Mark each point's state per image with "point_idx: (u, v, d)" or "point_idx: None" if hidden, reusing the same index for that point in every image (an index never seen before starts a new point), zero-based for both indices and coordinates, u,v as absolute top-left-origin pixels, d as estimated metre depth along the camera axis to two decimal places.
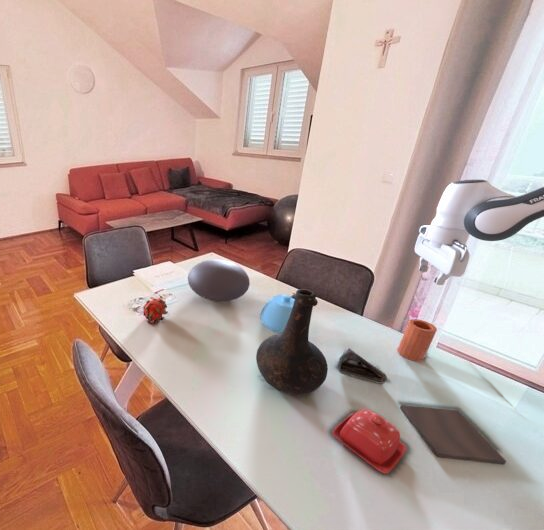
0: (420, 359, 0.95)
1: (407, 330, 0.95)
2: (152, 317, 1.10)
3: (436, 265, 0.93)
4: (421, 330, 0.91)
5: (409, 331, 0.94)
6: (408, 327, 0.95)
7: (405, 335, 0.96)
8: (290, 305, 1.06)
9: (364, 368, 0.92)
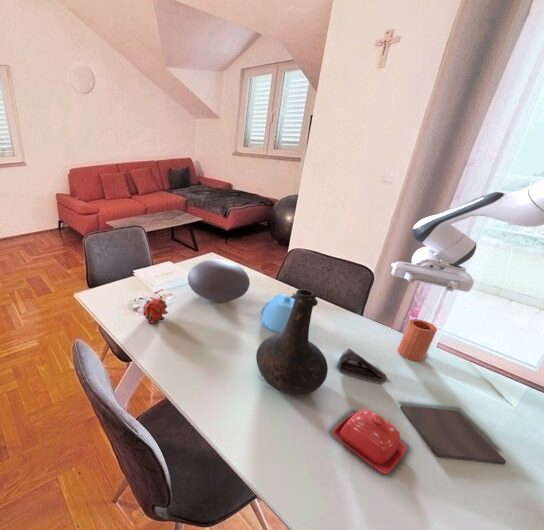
0: (420, 359, 0.95)
1: (407, 330, 0.95)
2: (152, 317, 1.10)
3: None
4: (421, 330, 0.91)
5: (409, 331, 0.94)
6: (408, 327, 0.95)
7: (405, 335, 0.96)
8: (290, 305, 1.06)
9: (364, 368, 0.92)
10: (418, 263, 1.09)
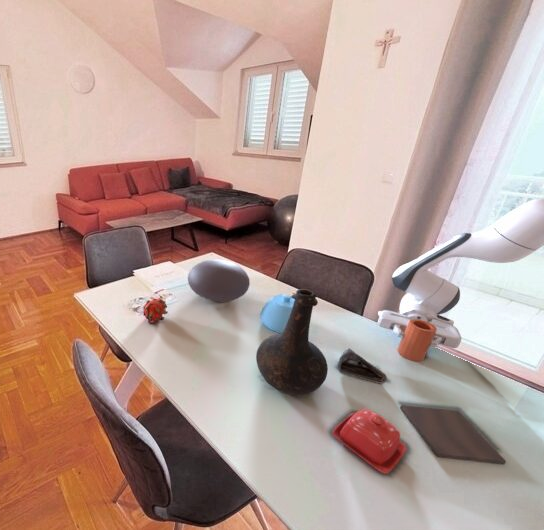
0: (420, 359, 0.95)
1: (407, 330, 0.95)
2: (152, 317, 1.10)
3: None
4: (421, 330, 0.91)
5: (409, 331, 0.94)
6: (408, 327, 0.95)
7: (405, 335, 0.96)
8: (290, 305, 1.06)
9: (364, 368, 0.92)
10: (405, 313, 1.05)
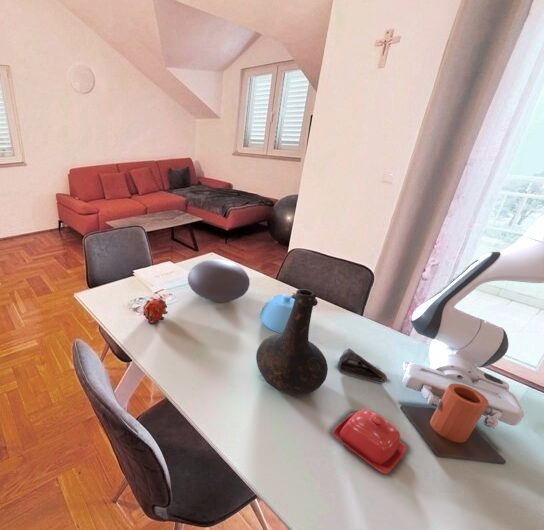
0: (463, 440, 0.69)
1: (445, 400, 0.70)
2: (152, 317, 1.10)
3: None
4: (467, 404, 0.66)
5: (449, 402, 0.69)
6: (447, 396, 0.69)
7: (442, 406, 0.70)
8: (290, 305, 1.06)
9: (364, 368, 0.92)
10: (440, 368, 0.79)
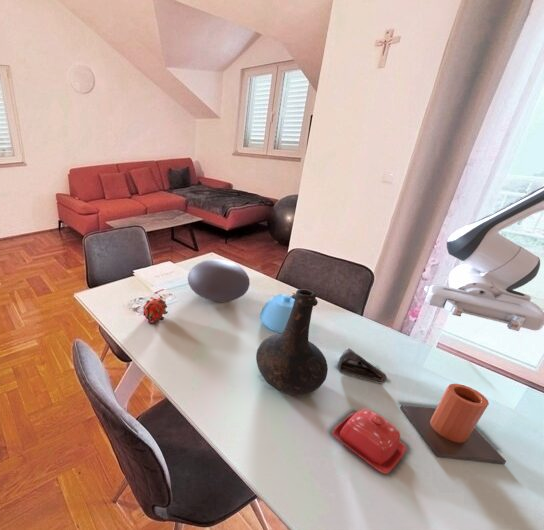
0: (463, 440, 0.69)
1: (445, 400, 0.70)
2: (152, 317, 1.10)
3: None
4: (467, 404, 0.66)
5: (449, 402, 0.69)
6: (447, 396, 0.69)
7: (442, 406, 0.70)
8: (290, 305, 1.06)
9: (364, 368, 0.92)
10: (462, 287, 0.81)
